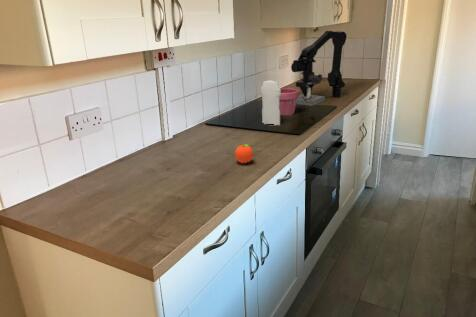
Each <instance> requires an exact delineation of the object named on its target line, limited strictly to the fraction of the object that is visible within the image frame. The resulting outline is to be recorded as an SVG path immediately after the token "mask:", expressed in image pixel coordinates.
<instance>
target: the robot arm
mask: <svg viewBox="0 0 476 317" xmlns="http://www.w3.org/2000/svg"><path fill="white" fill-rule="evenodd" d="M330 39H331V41H332V42H331V43H332V44H333V55H332V65H331V71H330V72H328V73H327V78H326V79H327V82H328V85H329V87H332V88H331V89H332V91H331V94H330V95H329V97H330V98H341V97H343V96H344V95H343V94H342V89H343V88H345V86H346V83H345V82H344V80H343V76H342V75H343V74H342V71H341V63H342V54H343V46H344V45H345V43H346V40H347V33H346V32H345V31H339V30H336V31H333V30H326V31H324V33H323V34H322V35H320V37H318V38H317V39H316V40H315V41H314V42H313V43H312V44H311V45H308V46H306V47H304V48H303V49H302V50H301V53H300V55H299V57H298V59H297V60H295V59H294V60H293V62H292V63H291V67H290V70H291V71H292V72H293V73H301V75H302V79H301V80H299V81H298V80H297V81H296V82H295V87H296V88H300V90H301V92H302V94H303V95H304V97H307V89H308V88H309V87H310V88H311V92H312V91H313V88H314V86H316V85H318V84H321V81H323V75H322V74H318V75H317V74H315V72H314V71H313V70H314V69H313V68H314V66H313V63H316V62H317V61H316V60H315V57H316V55H317V54H318V51H319V50H320V49H321V48H322V47H323V46H324V45H325V44H326V43H328V41H329V40H330Z"/></svg>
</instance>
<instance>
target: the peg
mask: <svg viewBox="0 0 476 317" xmlns="http://www.w3.org/2000/svg"><path fill="white" fill-rule="evenodd" d="M311 95H312V91H311V88H310V87H309V88H308V89H307V97H304V99H310V98H311Z"/></svg>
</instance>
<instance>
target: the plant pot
mask: <svg viewBox="0 0 476 317" xmlns="http://www.w3.org/2000/svg"><path fill="white" fill-rule="evenodd" d="M280 89H281V95H280V97H279V98H280V99H279V110H280V116H292V115H294V114H295V110H296V108H297V104H296V103H297V98H299V95H300V90H299V89H296V88H280Z"/></svg>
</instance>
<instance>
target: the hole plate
mask: <svg viewBox="0 0 476 317" xmlns="http://www.w3.org/2000/svg"><path fill="white" fill-rule="evenodd" d="M325 101H326V96H323V95H315V94H311V98H310V99H304V95H303V93H301V94H299V98H297V103H296V105H304V106H311V107H312V106H315V105H317V104H320V103H323V102H325Z"/></svg>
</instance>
